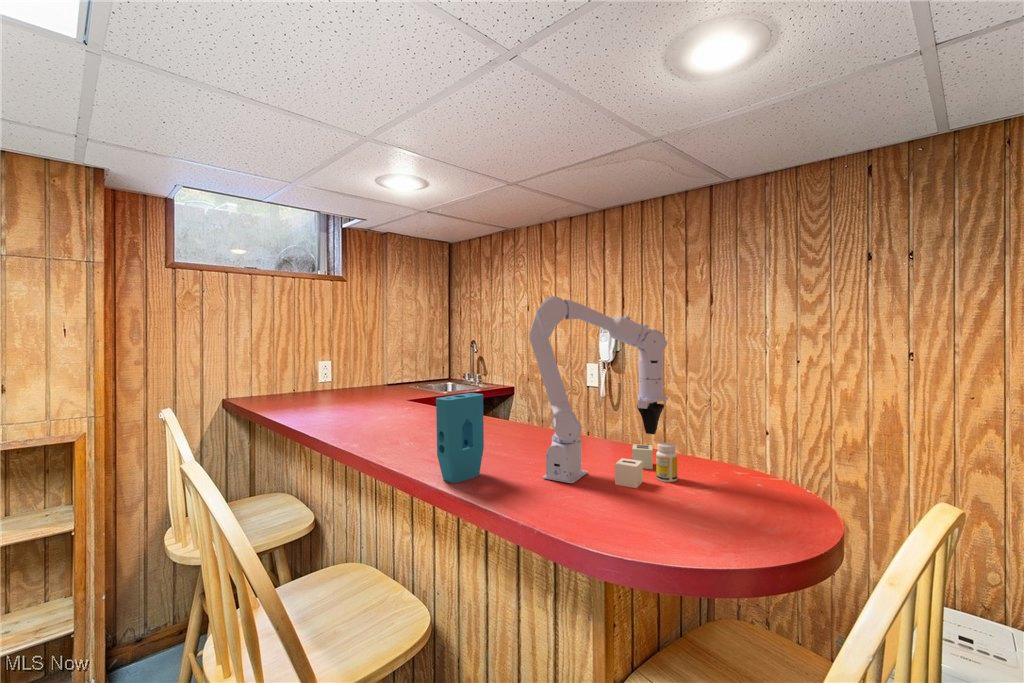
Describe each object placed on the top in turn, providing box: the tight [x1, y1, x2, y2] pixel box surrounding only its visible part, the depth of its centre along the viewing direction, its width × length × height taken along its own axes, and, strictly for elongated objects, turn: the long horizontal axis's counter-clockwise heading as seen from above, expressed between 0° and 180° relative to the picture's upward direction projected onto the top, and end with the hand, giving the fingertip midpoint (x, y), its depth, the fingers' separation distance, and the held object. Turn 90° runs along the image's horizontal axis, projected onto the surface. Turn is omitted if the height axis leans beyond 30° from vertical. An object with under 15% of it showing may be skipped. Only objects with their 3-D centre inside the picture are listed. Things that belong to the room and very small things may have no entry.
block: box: [435, 392, 485, 484], centre depth 113 cm, size 12×5×20 cm, turn 138°
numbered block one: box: [614, 457, 644, 489], centre depth 108 cm, size 5×5×5 cm
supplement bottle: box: [655, 442, 678, 483], centre depth 110 cm, size 5×5×8 cm
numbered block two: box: [631, 443, 654, 470], centre depth 121 cm, size 5×5×5 cm
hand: (650, 433), depth 113 cm, fingers closed
